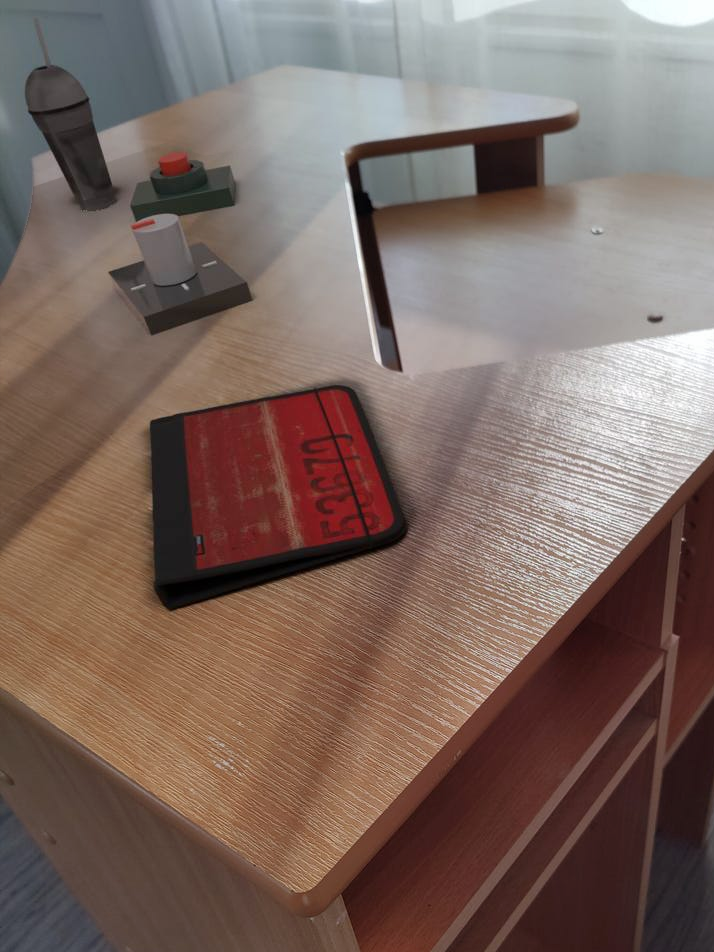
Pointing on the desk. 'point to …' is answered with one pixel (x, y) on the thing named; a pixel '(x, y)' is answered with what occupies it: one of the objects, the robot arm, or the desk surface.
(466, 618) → the desk surface
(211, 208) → the button box
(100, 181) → the beverage cup
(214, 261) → the panel
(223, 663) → the desk surface
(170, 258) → the hob knob
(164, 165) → the button
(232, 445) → the binder
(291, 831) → the desk surface
